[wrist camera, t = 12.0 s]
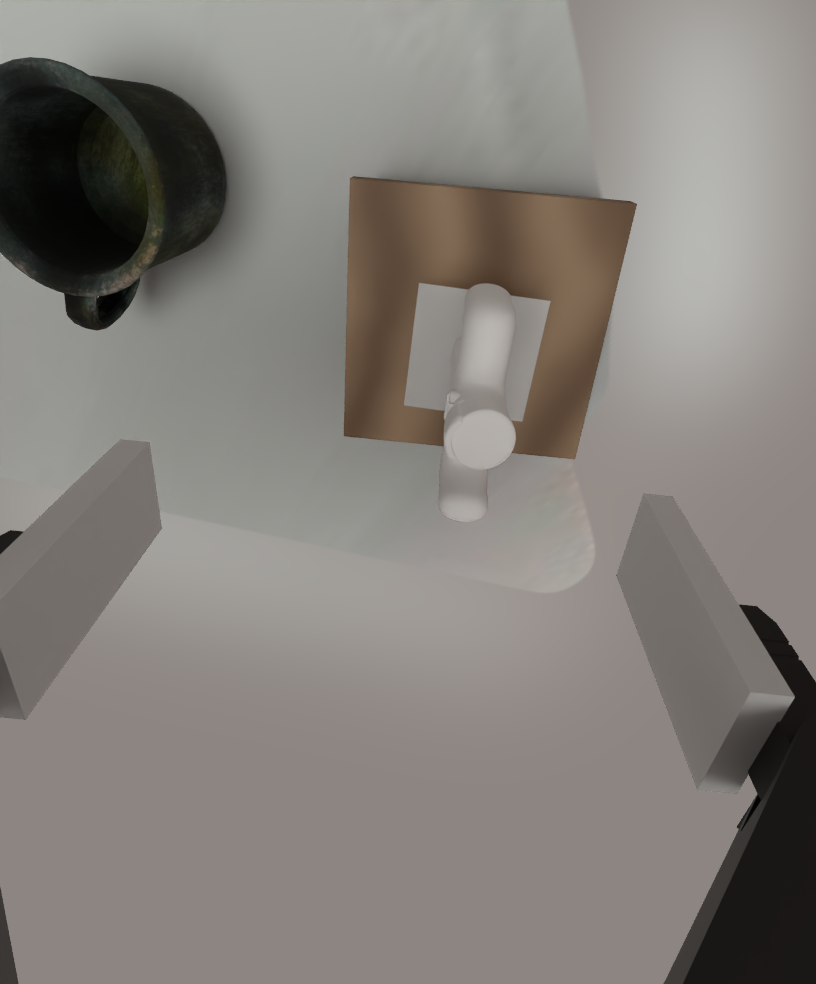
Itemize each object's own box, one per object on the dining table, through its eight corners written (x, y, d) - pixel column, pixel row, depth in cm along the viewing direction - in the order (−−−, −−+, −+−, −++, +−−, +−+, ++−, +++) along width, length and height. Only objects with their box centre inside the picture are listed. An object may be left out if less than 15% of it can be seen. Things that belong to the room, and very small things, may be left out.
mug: (247, 110, 40) (174, 103, 30) (215, 322, 47) (147, 376, 37) (81, 49, 39) (-55, 20, 29) (74, 275, 46) (-36, 317, 36)
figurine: (547, 266, 36) (595, 343, 23) (514, 414, 41) (539, 545, 28) (424, 250, 36) (405, 317, 23) (406, 399, 41) (381, 524, 28)
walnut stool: (360, 393, 49) (343, 436, 43) (368, 169, 41) (350, 178, 34) (558, 413, 49) (574, 459, 42) (607, 191, 41) (636, 204, 34)
